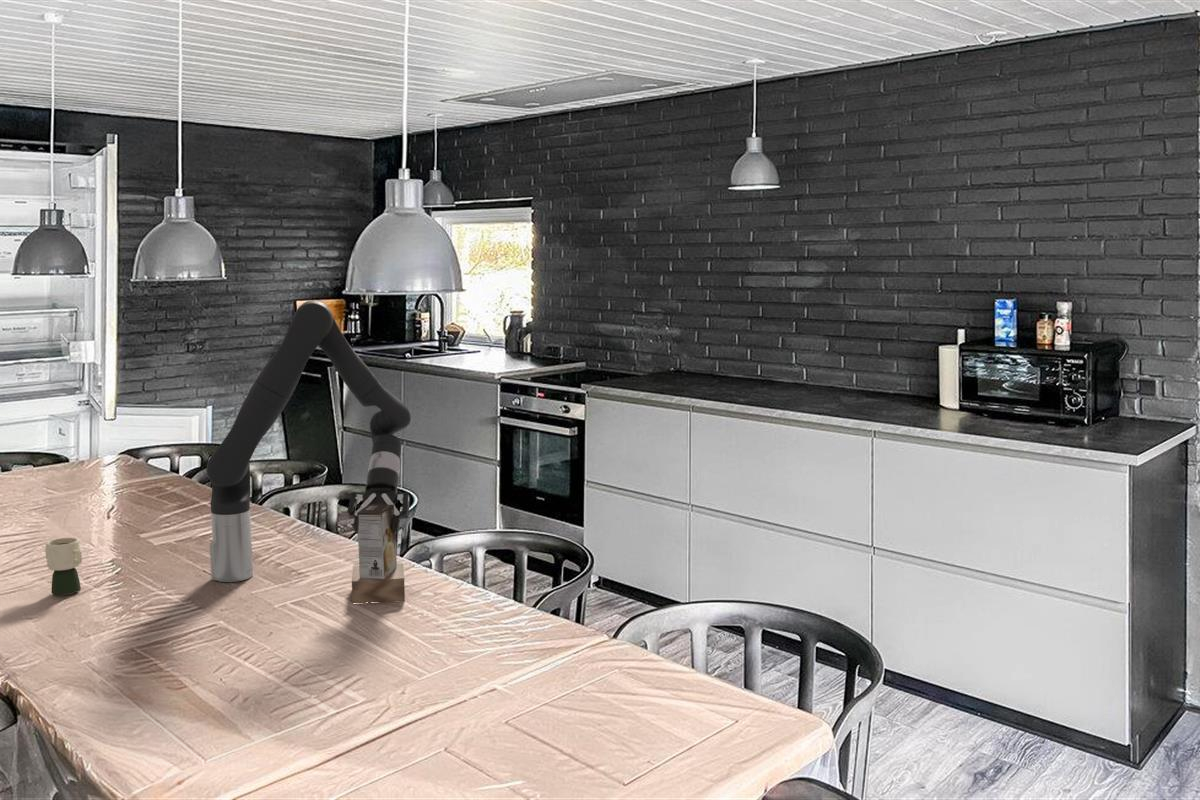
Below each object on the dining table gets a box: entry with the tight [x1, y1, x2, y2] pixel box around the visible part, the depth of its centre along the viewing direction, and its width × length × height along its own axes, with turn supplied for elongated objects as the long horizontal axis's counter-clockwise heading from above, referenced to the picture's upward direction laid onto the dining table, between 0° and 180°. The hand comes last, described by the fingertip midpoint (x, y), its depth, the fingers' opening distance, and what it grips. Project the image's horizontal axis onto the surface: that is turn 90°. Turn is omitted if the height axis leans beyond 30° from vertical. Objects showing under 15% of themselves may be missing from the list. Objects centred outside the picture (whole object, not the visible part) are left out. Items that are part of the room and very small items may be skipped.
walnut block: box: [351, 562, 406, 605], centre depth 249 cm, size 12×12×6 cm
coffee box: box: [357, 503, 397, 579], centre depth 247 cm, size 9×6×16 cm
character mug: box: [44, 536, 83, 596], centre depth 249 cm, size 11×7×13 cm, turn 70°
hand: (375, 532), depth 246 cm, fingers open, 8 cm apart
